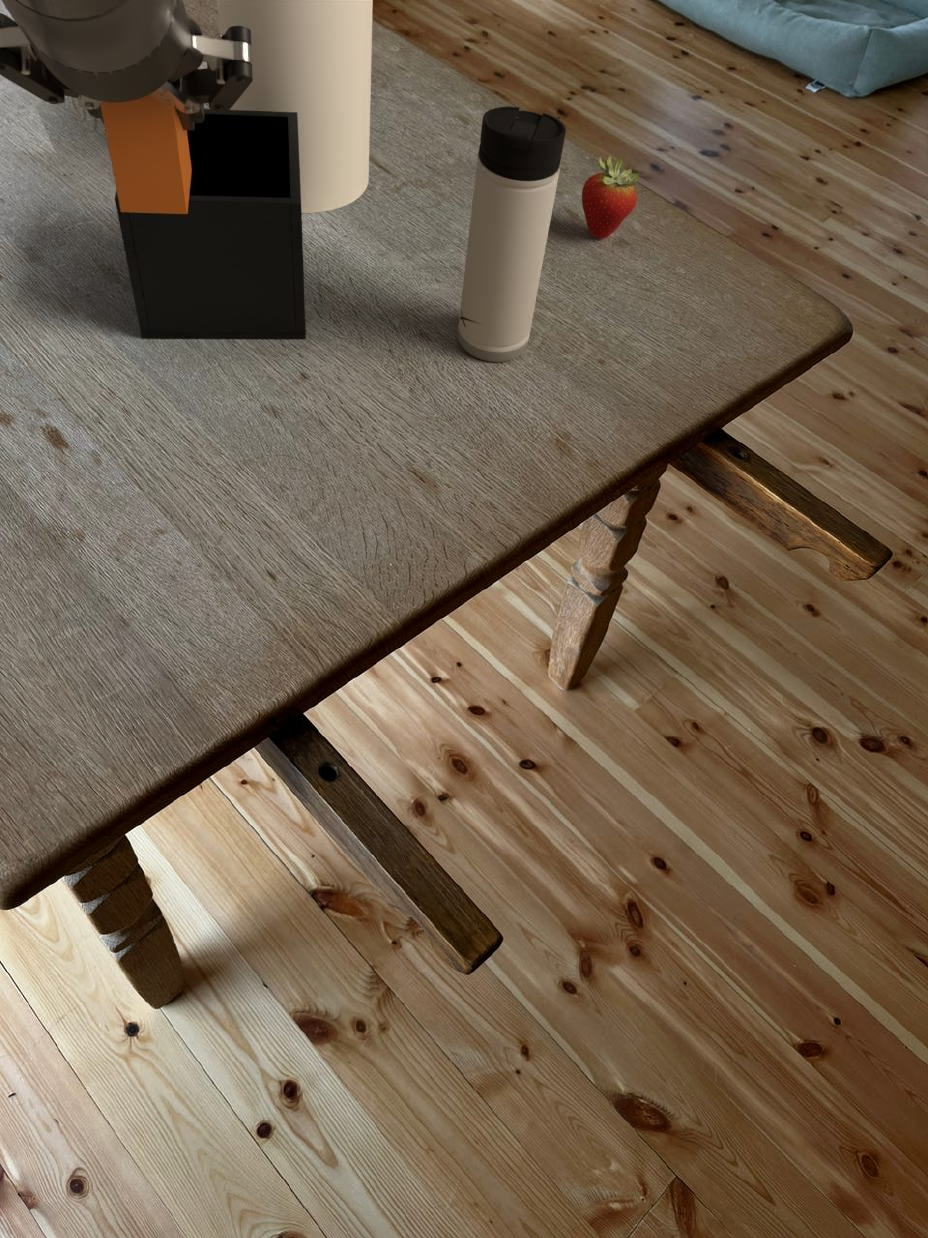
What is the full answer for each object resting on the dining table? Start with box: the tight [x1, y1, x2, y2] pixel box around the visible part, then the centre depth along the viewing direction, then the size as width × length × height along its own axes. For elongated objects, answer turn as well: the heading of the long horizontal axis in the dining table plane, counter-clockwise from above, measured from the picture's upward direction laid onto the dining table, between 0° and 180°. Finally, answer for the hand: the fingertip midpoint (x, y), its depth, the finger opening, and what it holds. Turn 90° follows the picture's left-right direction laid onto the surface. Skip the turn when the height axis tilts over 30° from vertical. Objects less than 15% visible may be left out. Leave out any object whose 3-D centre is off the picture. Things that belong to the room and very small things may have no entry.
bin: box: [114, 108, 307, 340], centre depth 84 cm, size 14×14×13 cm
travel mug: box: [457, 105, 567, 363], centre depth 81 cm, size 6×7×20 cm
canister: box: [216, 0, 374, 214], centre depth 93 cm, size 14×14×20 cm
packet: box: [100, 94, 192, 214], centre depth 60 cm, size 4×5×8 cm
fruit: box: [581, 155, 640, 240], centre depth 97 cm, size 5×5×8 cm
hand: (150, 110), depth 61 cm, fingers closed on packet, 4 cm apart
